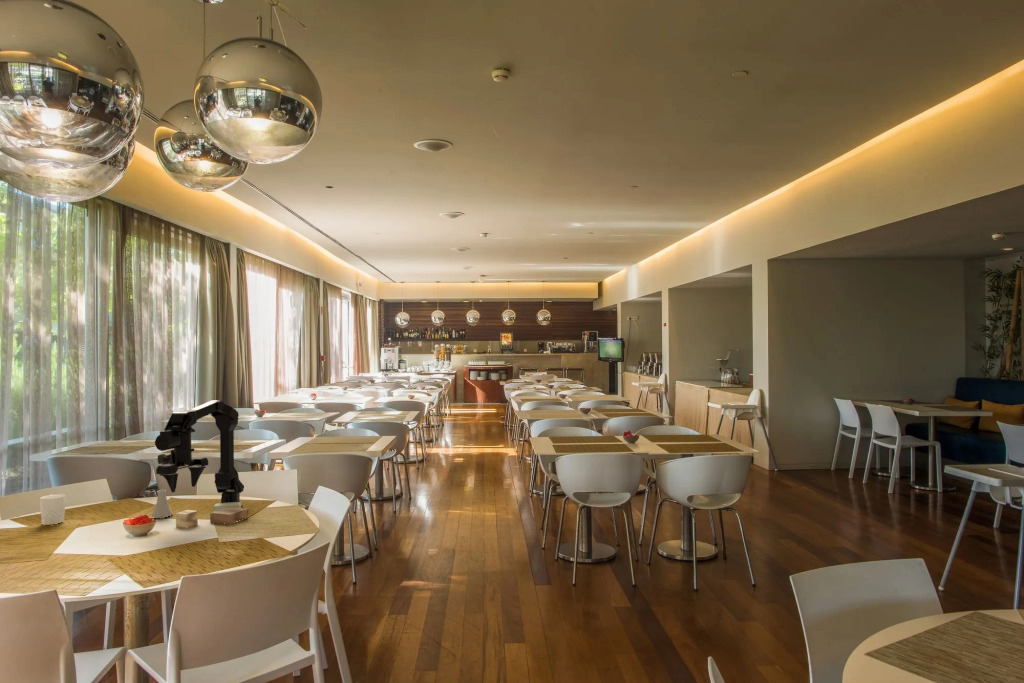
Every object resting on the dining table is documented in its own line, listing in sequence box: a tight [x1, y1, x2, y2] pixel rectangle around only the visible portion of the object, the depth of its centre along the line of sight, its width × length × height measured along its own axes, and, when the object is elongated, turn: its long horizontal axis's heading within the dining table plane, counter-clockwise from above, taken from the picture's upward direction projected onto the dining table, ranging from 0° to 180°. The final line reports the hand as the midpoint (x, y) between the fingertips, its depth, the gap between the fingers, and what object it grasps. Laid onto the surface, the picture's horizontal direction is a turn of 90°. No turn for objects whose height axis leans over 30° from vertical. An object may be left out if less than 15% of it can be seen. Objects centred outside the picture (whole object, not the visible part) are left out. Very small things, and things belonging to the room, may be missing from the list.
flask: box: [151, 489, 174, 519], centre depth 253 cm, size 7×7×10 cm
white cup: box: [39, 493, 66, 525], centre depth 246 cm, size 8×8×10 cm
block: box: [213, 501, 242, 512], centre depth 256 cm, size 4×9×4 cm, turn 102°
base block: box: [209, 507, 249, 525], centre depth 246 cm, size 9×9×4 cm
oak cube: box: [175, 509, 199, 528], centre depth 240 cm, size 5×5×5 cm
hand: (183, 489), depth 240 cm, fingers open, 9 cm apart
